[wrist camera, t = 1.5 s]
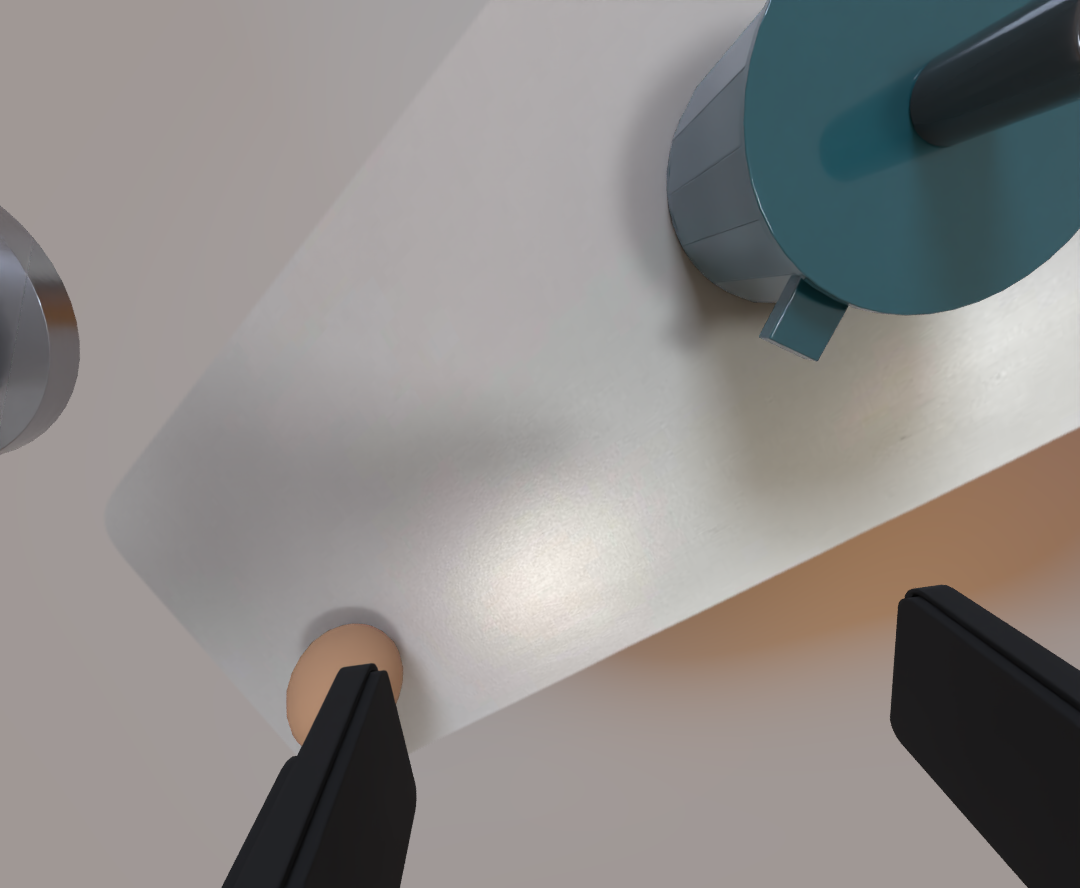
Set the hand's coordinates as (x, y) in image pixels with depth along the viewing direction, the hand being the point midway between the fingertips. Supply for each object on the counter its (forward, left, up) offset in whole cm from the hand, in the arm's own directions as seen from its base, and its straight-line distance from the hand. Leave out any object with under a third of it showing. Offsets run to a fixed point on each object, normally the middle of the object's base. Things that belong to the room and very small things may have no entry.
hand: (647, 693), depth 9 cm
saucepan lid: (+6, +18, -12) cm, 23 cm away
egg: (-6, -19, -23) cm, 31 cm away
